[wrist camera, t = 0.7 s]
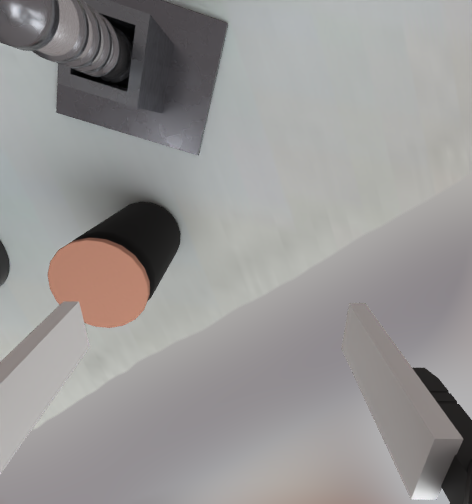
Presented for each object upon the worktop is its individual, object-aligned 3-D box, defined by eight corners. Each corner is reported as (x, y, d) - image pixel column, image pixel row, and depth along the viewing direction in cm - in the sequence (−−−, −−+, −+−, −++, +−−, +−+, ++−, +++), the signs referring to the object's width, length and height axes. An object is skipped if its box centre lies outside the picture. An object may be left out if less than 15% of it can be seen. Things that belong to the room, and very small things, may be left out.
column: (114, 85, 38) (-38, 30, 17) (119, 41, 36) (-46, -79, 16) (152, 96, 38) (46, 57, 18) (158, 53, 36) (48, -46, 16)
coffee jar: (120, 192, 45) (47, 227, 28) (187, 209, 45) (155, 254, 29) (113, 253, 49) (46, 316, 32) (175, 268, 50) (141, 337, 33)
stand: (60, 112, 41) (-3, 106, 30) (67, -30, 35) (-9, -99, 24) (198, 154, 42) (184, 162, 32) (227, 25, 36) (221, -17, 26)
